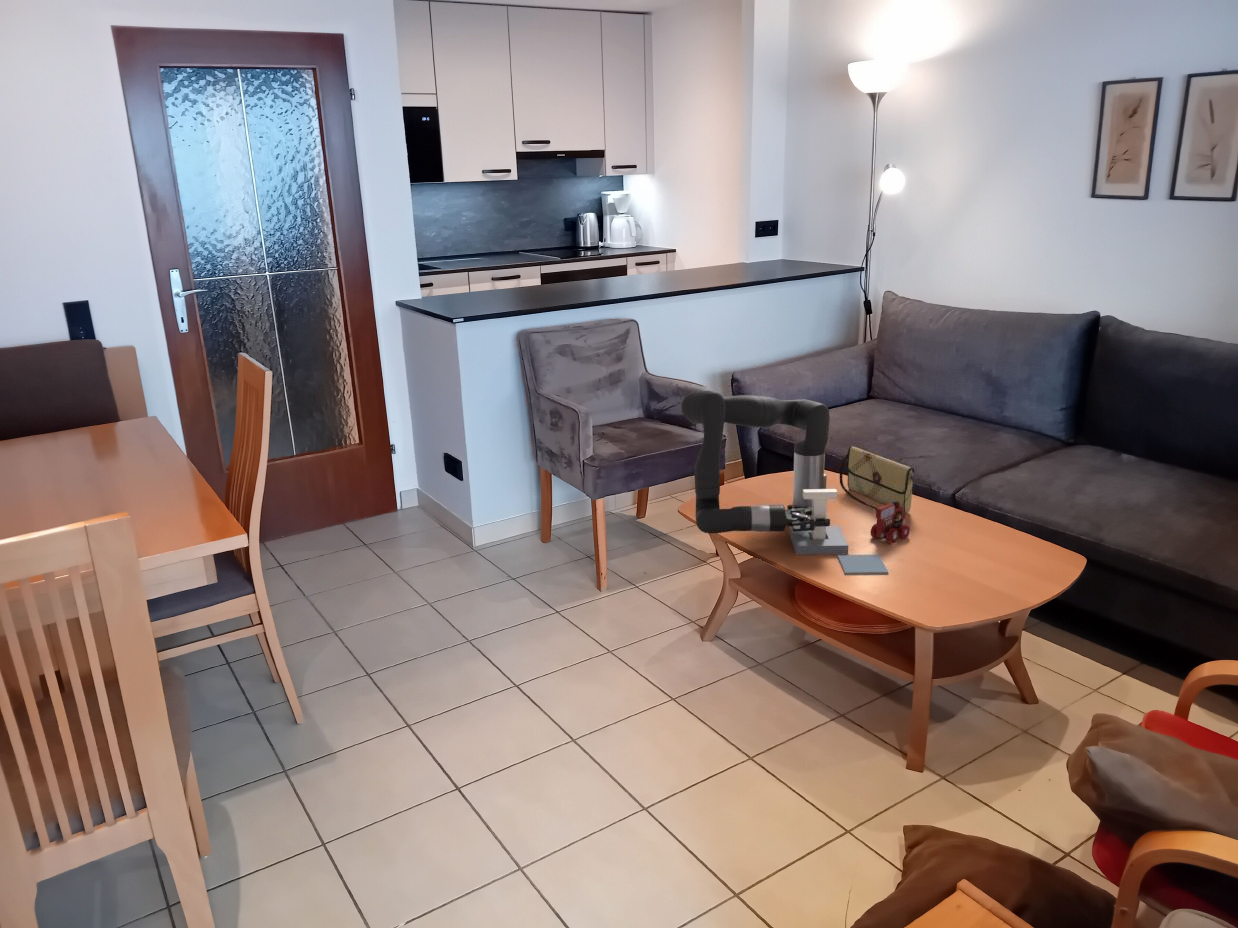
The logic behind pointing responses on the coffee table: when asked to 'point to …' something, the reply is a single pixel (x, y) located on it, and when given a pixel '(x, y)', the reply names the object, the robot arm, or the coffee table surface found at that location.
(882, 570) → the mat
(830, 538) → the socket block
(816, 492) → the t key
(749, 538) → the coffee table surface
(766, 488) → the coffee table surface
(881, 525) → the toy fire truck
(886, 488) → the clutch purse
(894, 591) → the coffee table surface
